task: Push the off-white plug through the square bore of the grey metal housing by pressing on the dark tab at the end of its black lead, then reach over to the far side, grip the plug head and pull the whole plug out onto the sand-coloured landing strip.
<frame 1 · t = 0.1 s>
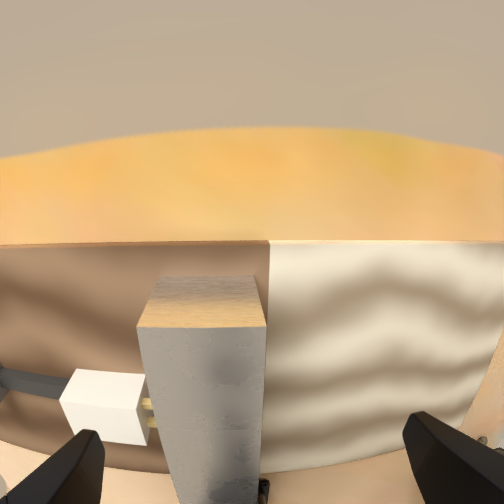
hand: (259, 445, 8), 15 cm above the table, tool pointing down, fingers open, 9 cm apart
motor housing: (212, 386, 24), resting on base board
base board: (237, 386, 25), on the table
plug: (53, 383, 22), point 1 cm above the table, touching base board
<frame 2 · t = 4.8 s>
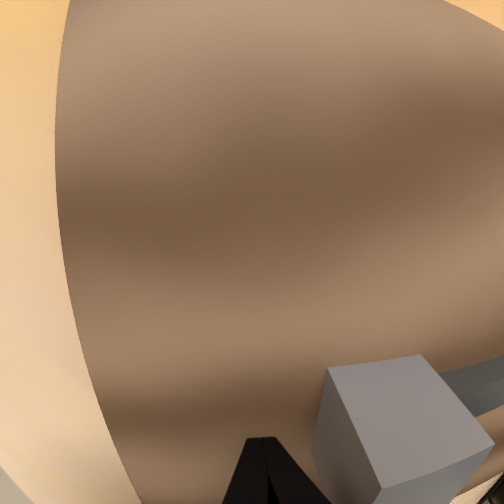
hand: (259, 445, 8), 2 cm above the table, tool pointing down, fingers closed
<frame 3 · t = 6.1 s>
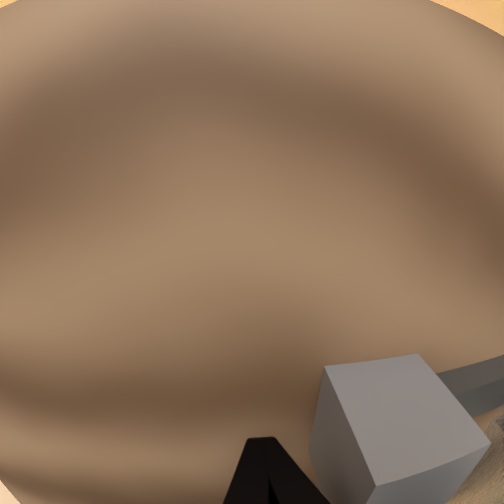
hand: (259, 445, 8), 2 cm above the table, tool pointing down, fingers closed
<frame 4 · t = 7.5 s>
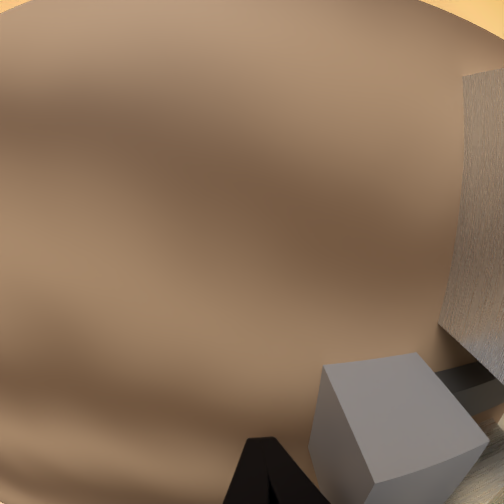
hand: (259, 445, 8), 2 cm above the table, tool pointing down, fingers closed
motor housing: (460, 369, 10), resting on base board
base board: (491, 360, 10), on the table
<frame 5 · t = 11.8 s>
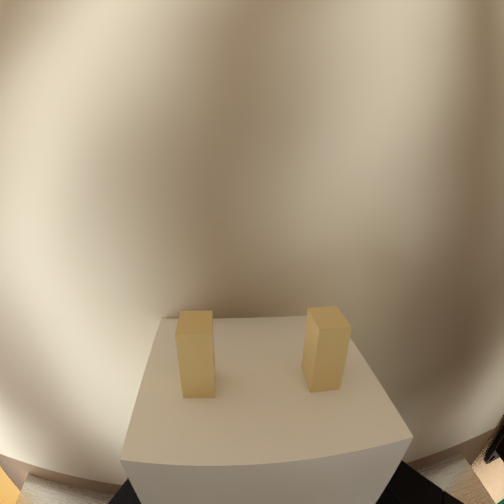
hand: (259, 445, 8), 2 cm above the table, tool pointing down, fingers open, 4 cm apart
base board: (251, 493, 11), on the table
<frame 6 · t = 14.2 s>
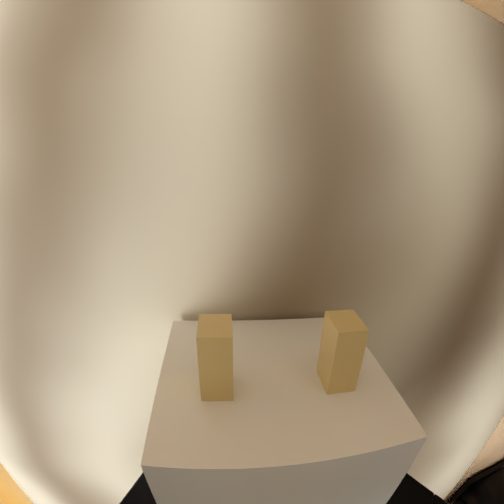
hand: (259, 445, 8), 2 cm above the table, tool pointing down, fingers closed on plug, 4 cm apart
when the fingers open (2 cm above the table, at t = 16.1 s): plug stays where it is, resting on base board.
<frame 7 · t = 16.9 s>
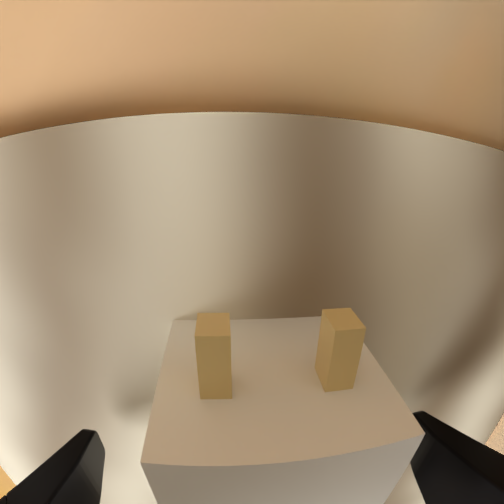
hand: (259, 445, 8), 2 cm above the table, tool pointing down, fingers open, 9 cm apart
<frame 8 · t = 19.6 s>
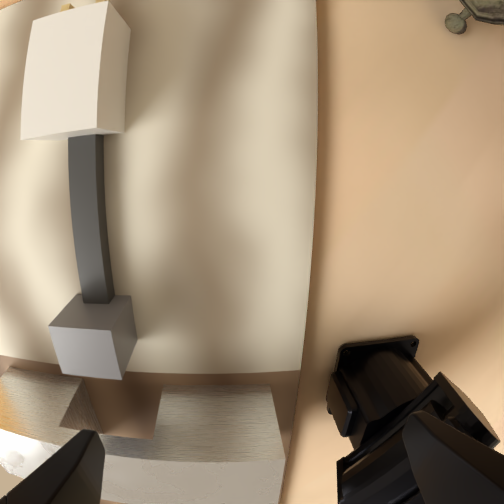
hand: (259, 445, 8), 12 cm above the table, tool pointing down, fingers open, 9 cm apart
motor housing: (132, 403, 21), resting on base board
base board: (127, 383, 21), on the table
plug: (91, 191, 16), point 1 cm above the table, touching base board
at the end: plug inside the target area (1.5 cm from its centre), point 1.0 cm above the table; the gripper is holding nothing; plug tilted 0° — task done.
